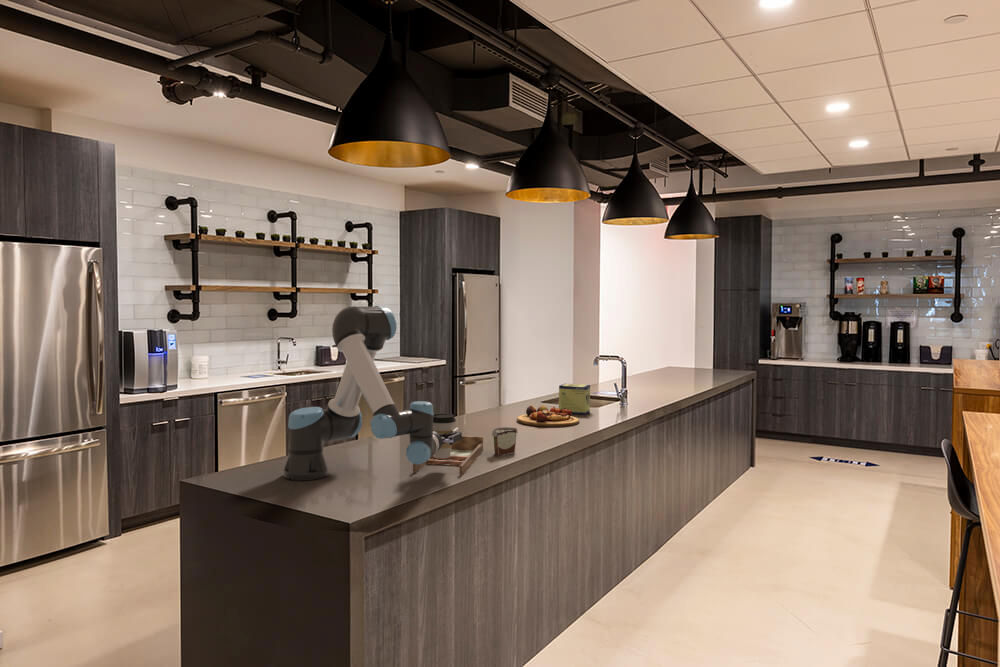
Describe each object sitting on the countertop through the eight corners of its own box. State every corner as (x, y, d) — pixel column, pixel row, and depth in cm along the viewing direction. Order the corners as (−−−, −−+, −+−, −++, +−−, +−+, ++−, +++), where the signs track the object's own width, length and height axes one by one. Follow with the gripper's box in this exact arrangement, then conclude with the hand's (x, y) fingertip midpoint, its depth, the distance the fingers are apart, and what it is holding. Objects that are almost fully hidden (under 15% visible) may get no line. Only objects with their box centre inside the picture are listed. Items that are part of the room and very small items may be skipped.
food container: (506, 449, 284) (507, 425, 283) (517, 452, 279) (517, 428, 279) (485, 454, 275) (485, 429, 275) (495, 456, 271) (496, 431, 270)
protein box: (585, 415, 370) (586, 386, 370) (558, 413, 376) (558, 385, 375) (590, 412, 380) (590, 384, 379) (563, 410, 386) (563, 383, 385)
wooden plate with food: (559, 430, 328) (560, 413, 327) (504, 422, 346) (505, 406, 345) (589, 422, 354) (590, 406, 354) (537, 415, 372) (537, 400, 372)
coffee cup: (460, 456, 248) (461, 415, 247) (440, 461, 241) (441, 419, 240) (442, 451, 255) (443, 412, 254) (422, 456, 248) (423, 415, 247)
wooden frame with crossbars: (413, 473, 244) (413, 456, 244) (440, 449, 283) (440, 434, 283) (462, 475, 241) (462, 459, 241) (483, 451, 280) (483, 436, 280)
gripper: (398, 452, 232) (416, 439, 254) (459, 456, 228) (473, 442, 251) (398, 431, 231) (417, 419, 254) (460, 434, 228) (473, 422, 250)
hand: (445, 430), depth 252 cm, fingers closed on coffee cup, 9 cm apart
